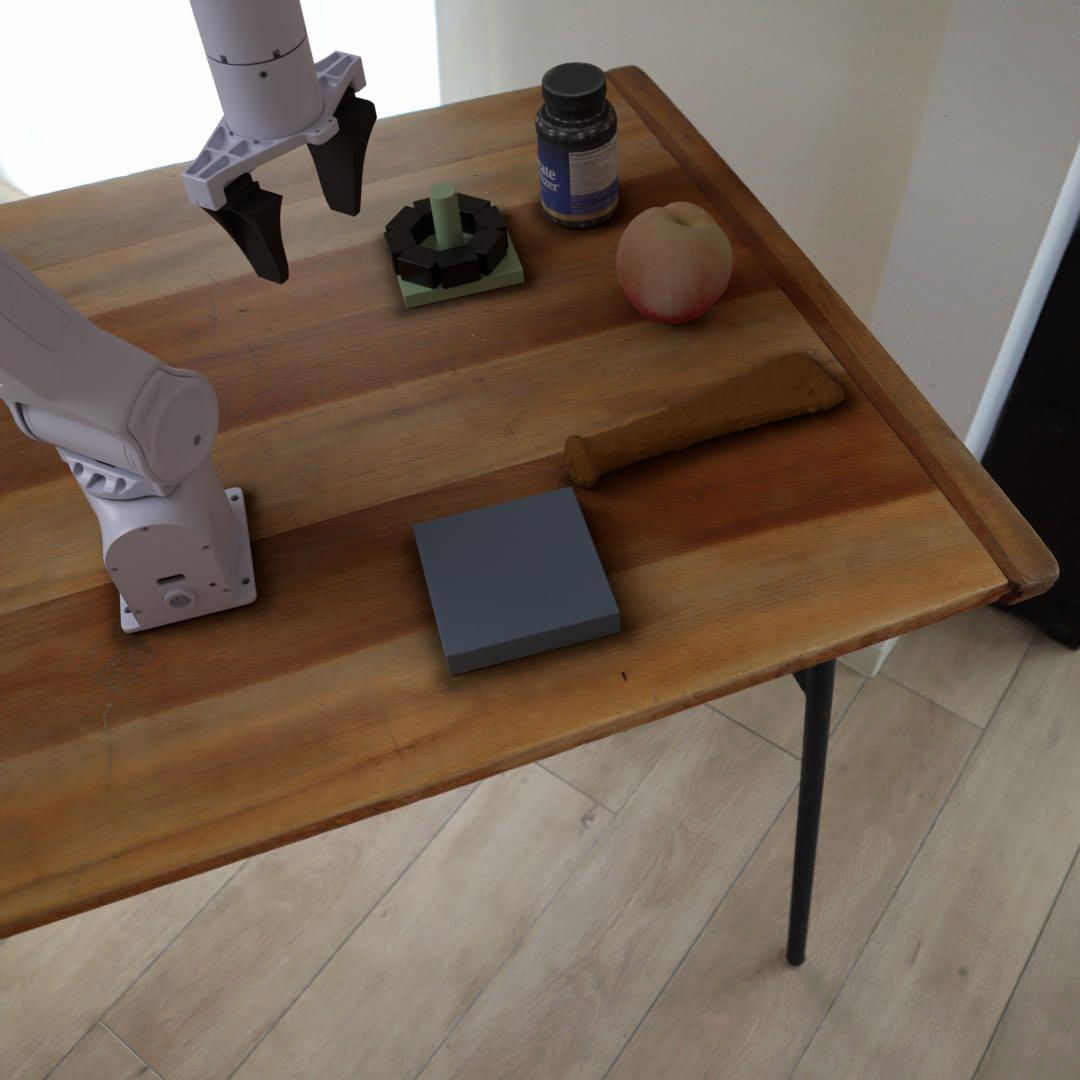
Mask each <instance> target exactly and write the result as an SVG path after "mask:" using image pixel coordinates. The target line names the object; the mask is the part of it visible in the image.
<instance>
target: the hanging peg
mask: <svg viewBox="0 0 1080 1080" xmlns="http://www.w3.org/2000/svg"><path fill="white" fill-rule="evenodd" d="M457 193H458V192H457V187H456V186H455V184H452V183H449V182H439V183H436V184H434V185H432V186H431V187H430V188H429V189H428V196H429V197H430V202H431V208H432V214H433V220H434V226H435V232H436V234H433V235H429V236H427V237H426V238H425V240H424V241H423V242H422V243H421V244H420V245H419V246H423V247H427V248H430V249H434V250H437V251H441V250H445V249H449V248H453V247H457V246H461V245H465V244H467V243H468V242H469V240H470V239H471V238H472V237H473V236H474V235H470V234H467V233H463V232H462V225H461V218H460V212H459V205H458V198H457ZM429 197H428V198H429ZM490 203H491V206H494V205H496V206H497V208H498V209H499V207H498V205H497V203H496V202H490ZM385 226H386V225H384V226H383V232H386V228H385ZM507 236H508V245H509V247H508V248H507V255H506V256H505V257H504V258H503V260H502V261H501V262H500V263H499V264H498V266H497V267H496V268H495V269H494V270H493V271H492V273H491V274H490V275H489V276H488V275H484V274H481V280H480V281H476V282H472V283H468V284H464V285H460V286H456V287H452V288H448V289H443V287H442V285H441V282H440V284H439V285H438V286H437V287H436V288H435V289H431V288H427V287H424V286H420V285H417V284H413V283H410V282H407V281H403V280H401V275H396V277H397V280H398V284H399V287H400V290H401V294H402V298H403V301H404V304H405V308H406V309H412V308H416V307H420V306H425V305H430V304H433V303H438V302H442V301H446V300H451V299H455V298H460V297H465V296H469V295H474V294H478V293H482V292H487V291H492V290H497V289H500V288H505V287H509V286H510V287H511V286H513V285H518V284H523V283H525V275H524V269H523V266H522V264H521V261H520V258H519V257H518V254H517V252H516V249H515V247H514V244H513V241H512V240H511V239H512V238H511V237H510V234H509V232H508V231H507Z"/></svg>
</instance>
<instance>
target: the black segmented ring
mask: <svg viewBox="0 0 1080 1080" xmlns="http://www.w3.org/2000/svg"><path fill="white" fill-rule="evenodd" d="M457 198H458V205H459V212H460V218H461V225H462V232H463V233H467V234H470V235H474V236H473V237H472V238H471V239H470V240H469V242H468V243H467V244H465V245H461V246H457V247H453V248H449V249H445V250H441V251H437V250H434V249H430V248H427V247H423V246H419V245H420V244H421V243H422V242H423V241H424V240H425V238H426V237H427V236H429V235H433V234H436V232H435V226H434V220H433V214H432V208H431V202H430V197H426V198H422V199H417V200H413V201H412V206H410V205H404V206H403V207H402V208H401V209H400V210H399V212H397V213H396V214H395V215H394V216H393V217H392V219H390V220H389V222H388V223H387V224H386V225H384V226H385V228H386V232H385V231H383V239H384V242H385V243H384V244H385V247H386V252H387V256H388V258H389V261H390V264H391V266H392V269H393V272H394V274H395V276H397V275H401V280H403V281H407V282H410V283H413V284H417V285H420V286H424V287H427V288H431V289H435V288H436V287H437V286H438V285H439V284H440V282H441V285H442V287H443V289H448V288H452V287H456V286H460V285H464V284H468V283H472V282H476V281H480V280H481V274H484V275H488V276H489V275H490V274H491V273H492V271H493V270H494V269H495V268H496V267H497V266H498V264H499V263H500V262H501V261H502V260H503V258H504V257H505V256H506V255H507V248H508V247H509V245H508V236H507V232H508V229H507V225H506V222H505V220H504V218H503V216H502V214H501V212H500V210H499V207H498V205H497V204H496V205H497V206H496V205H494V206H491V203H492V202H491V200H489V199H484V198H480V197H477V196H473V195H470V194H469V195H468V194H465V193H462V192H461V193H460V192H457ZM497 207H498V208H497Z"/></svg>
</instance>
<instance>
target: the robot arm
mask: <svg viewBox="0 0 1080 1080" xmlns="http://www.w3.org/2000/svg"><path fill="white" fill-rule="evenodd" d="M188 2H189V4H190V8H191V11H192V14H193V18H194V21H195V24H196V27H197V31H198V34H199V38H200V41H201V44H202V47H203V51H204V53H205V57H206V60H207V61H206V62H207V64H208V67H209V70H210V73H211V77H212V80H213V83H214V87H215V89H216V93H217V95H218V99H219V103H220V106H221V109H222V112H223V116H222V117H221V119H220V121H219V122H218V123H217V125H216V126H215V128H214V130H213V132H212V133H211V134H210V136H209V138H208V140H207V141H206V142H205V144H204V146H203V147H202V149H201V150H200V152H199V154H198V155H197V157H196V158H195V159H194V161H193V162H191V164H190V165H189V166H188V167H186V168H185V169H184V170H183V171H182V172H181V173H180V177H181V180H182V182H183V183H182V184H183V186H184V188H185V192H186V194H187V198H188V200H189V203H191V204H193V205H197V206H198V207H200V208H201V209H202V210H203V211H204V212H205V213H206V214H208V216H210V217H211V218H212V219H214V220H215V222H216V223H217V224H218V225H220V227H222V229H224V231H225V232H226V233H227V234H228V235H229V236H230V238H231V240H233V241H234V242H235V244H236V245H237V246H238V248H239V249H240V251H241V252H242V253H243V256H244V257H245V258H246V259H247V261H248V263H249V264H250V265H251V267H252V269H253V270H254V273H256V275H257V277H258V278H260V279H264V280H267V281H269V282H273V283H276V284H278V285H284V284H285V283H286V282H287V281H288V280H289V279H290V269H289V264H288V263H289V262H288V258H287V254H286V250H285V245H284V242H283V237H282V236H283V235H282V227H281V226H282V225H281V224H282V223H281V217H282V216H281V214H282V203H283V199H284V195H283V194H280V193H276V192H273V191H269V190H266V189H263V188H261V185H260V182H259V181H258V180H255V181H254V180H253V176H252V174H251V173H252V172H254V171H255V170H256V169H257V168H258V167H261V166H263V165H265V164H267V163H269V162H271V161H274V160H275V159H278V158H280V157H281V156H283V155H285V154H288V153H289V152H292V151H294V150H296V149H298V148H300V147H302V146H304V145H306V146H307V149H308V151H309V153H310V155H311V159H312V161H313V163H314V167H315V170H316V174H317V178H318V181H319V184H320V187H321V190H322V193H323V197H324V199H325V201H326V204H327V205H328V207H329V209H330V210H331V211H334V212H336V213H337V212H338V213H341V214H344V215H347V216H350V217H353V218H355V217H357V216H358V215H359V214H360V213H361V207H362V191H363V176H364V165H365V159H366V153H367V149H368V145H369V141H370V138H371V134H372V133H373V132H372V131H373V129H374V126H375V124H376V122H377V120H378V115H377V114H378V113H377V110H376V104H375V103H374V102H373V101H371V100H369V99H366V98H363V97H359V96H357V95H356V93H359V92H360V91H362V90H363V89H364V88H365V87H367V79H366V75H365V74H366V73H365V70H364V64H363V59H362V57H361V56H360V55H356V54H353V53H348V52H343V51H339V50H334V51H333V52H331V53H330V54H329V55H327V56H326V57H324V58H322V59H321V60H319V61H317V62H315V61H314V57H313V52H312V47H311V44H310V40H309V35H308V30H307V25H306V21H305V18H304V13H303V9H302V4H301V0H188ZM0 399H1V400H2V401H4V403H5V404H6V406H7V407H8V408H9V410H10V412H11V415H12V417H13V420H14V422H15V424H16V425H17V427H18V428H19V430H20V431H21V432H22V433H23V434H24V435H25V436H27V437H28V438H29V439H32V440H33V441H36V442H39V443H44V444H48V445H53V446H54V447H55V449H56V451H57V453H58V454H59V456H60V458H61V460H62V462H65V463H66V464H68V466H69V468H70V471H71V473H72V474H73V476H74V478H75V480H76V482H77V483H78V485H79V487H80V489H81V490H82V492H83V494H84V496H85V497H86V499H87V502H88V503H89V505H90V506H91V508H92V510H93V512H94V514H95V516H96V518H97V519H98V523H99V526H100V531H101V540H102V556H103V564H104V566H105V569H106V571H107V573H108V575H109V576H110V578H111V580H112V582H113V583H114V585H115V587H116V588H117V590H118V592H119V605H120V606H119V607H120V608H119V609H120V626H121V629H122V630H123V632H124V633H126V634H132V633H136V632H141V631H145V630H148V629H153V628H157V627H161V626H164V625H169V624H172V623H177V622H180V621H185V620H190V619H193V618H197V617H202V616H206V615H209V614H213V613H217V612H221V611H226V610H230V609H233V608H237V607H241V606H245V605H249V604H253V602H255V601H256V599H257V597H258V593H257V587H256V579H255V572H254V564H253V556H252V547H251V539H250V533H249V525H248V517H247V511H246V501H245V495H244V492H243V490H242V488H240V487H239V486H236V487H229V488H226V489H225V488H224V485H223V483H222V481H221V478H220V475H219V473H218V470H217V469H216V466H215V464H214V462H213V459H212V457H211V455H210V453H211V451H212V449H213V447H214V444H215V441H216V438H217V435H218V431H219V423H220V413H219V401H218V398H217V394H216V390H215V389H214V387H213V385H212V383H211V381H210V380H209V379H208V378H207V377H206V376H204V375H203V374H202V373H200V372H198V371H196V370H193V369H187V368H178V367H177V368H176V367H172V366H170V365H166V364H165V363H164V362H163V361H162V360H161V359H160V358H158V357H157V356H155V355H153V354H151V353H149V352H147V351H145V350H144V349H142V348H141V347H138V346H136V345H134V344H132V343H130V342H128V341H126V340H124V339H123V338H120V337H118V336H116V335H114V334H112V333H110V332H108V331H107V330H104V328H103V329H102V328H100V327H99V326H97V325H95V324H94V323H93V322H92V321H91V320H90V319H89V318H87V317H86V316H85V315H84V314H82V313H81V312H80V311H79V310H78V309H76V308H75V307H74V306H73V305H72V304H71V303H70V302H68V300H66V299H65V298H63V297H62V296H61V295H60V294H59V293H58V292H56V291H55V290H54V289H53V288H52V287H50V286H49V285H48V284H47V283H46V282H44V280H42V279H41V278H40V277H39V276H37V274H35V273H34V272H32V271H31V270H30V269H29V268H28V267H27V266H26V265H24V264H23V263H22V262H21V261H20V260H18V259H17V258H16V257H15V256H14V255H13V254H11V253H10V252H9V251H8V250H7V249H5V248H4V247H3V246H2V245H0Z"/></svg>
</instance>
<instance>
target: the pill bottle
mask: <svg viewBox="0 0 1080 1080" xmlns="http://www.w3.org/2000/svg"><path fill="white" fill-rule="evenodd" d="M607 86H608V85H607V76H606V73H605V72H604V70H603V69H602V68H601V67H599V66H597V65H595V64H592V63H589V62H581V61H572V62H571V61H570V62H565V63H561V64H558V65H555V66H552V67H551V68H550V69H548V70H546V72H545V73H544V74H543V76H542V77H541V98H542V100H543V101H544V102H543V103H542V104H541V105H540V106H539V108H538V110H537V111H536V115H535V117H534V126H535V138H536V139H535V140H536V150H537V152H536V153H537V162H538V176H539V188H540V202H541V203H540V204H541V209H542V212H543V214H544V215H545V217H547V219H548V220H549V221H551V222H552V223H554V224H556V225H559V226H562V227H564V228H568V229H587V228H590V227H595V226H598V225H600V224H603V223H605V222H606V221H608V220H609V219H610V218H612V217H613V215H614V214H615V212H616V211H617V210H618V206H619V201H620V200H619V157H618V155H619V153H618V152H619V151H618V116H617V111H616V109H615V107H614V105H613V103H612V102H611V101H610V100H608V98H606V96H607V92H608V87H607Z"/></svg>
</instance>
